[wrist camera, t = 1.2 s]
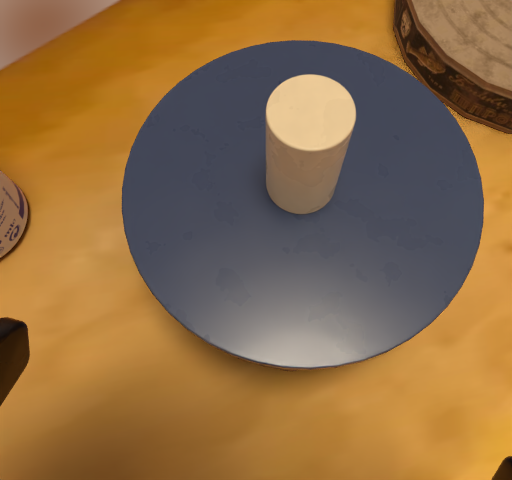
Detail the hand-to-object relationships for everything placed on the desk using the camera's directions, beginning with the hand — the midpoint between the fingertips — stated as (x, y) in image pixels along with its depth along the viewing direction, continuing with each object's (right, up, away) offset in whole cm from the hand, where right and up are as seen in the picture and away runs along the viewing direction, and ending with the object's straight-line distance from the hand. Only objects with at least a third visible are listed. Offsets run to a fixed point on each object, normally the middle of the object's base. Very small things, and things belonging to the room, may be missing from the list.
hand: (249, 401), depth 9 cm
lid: (+2, +5, +10) cm, 11 cm away
